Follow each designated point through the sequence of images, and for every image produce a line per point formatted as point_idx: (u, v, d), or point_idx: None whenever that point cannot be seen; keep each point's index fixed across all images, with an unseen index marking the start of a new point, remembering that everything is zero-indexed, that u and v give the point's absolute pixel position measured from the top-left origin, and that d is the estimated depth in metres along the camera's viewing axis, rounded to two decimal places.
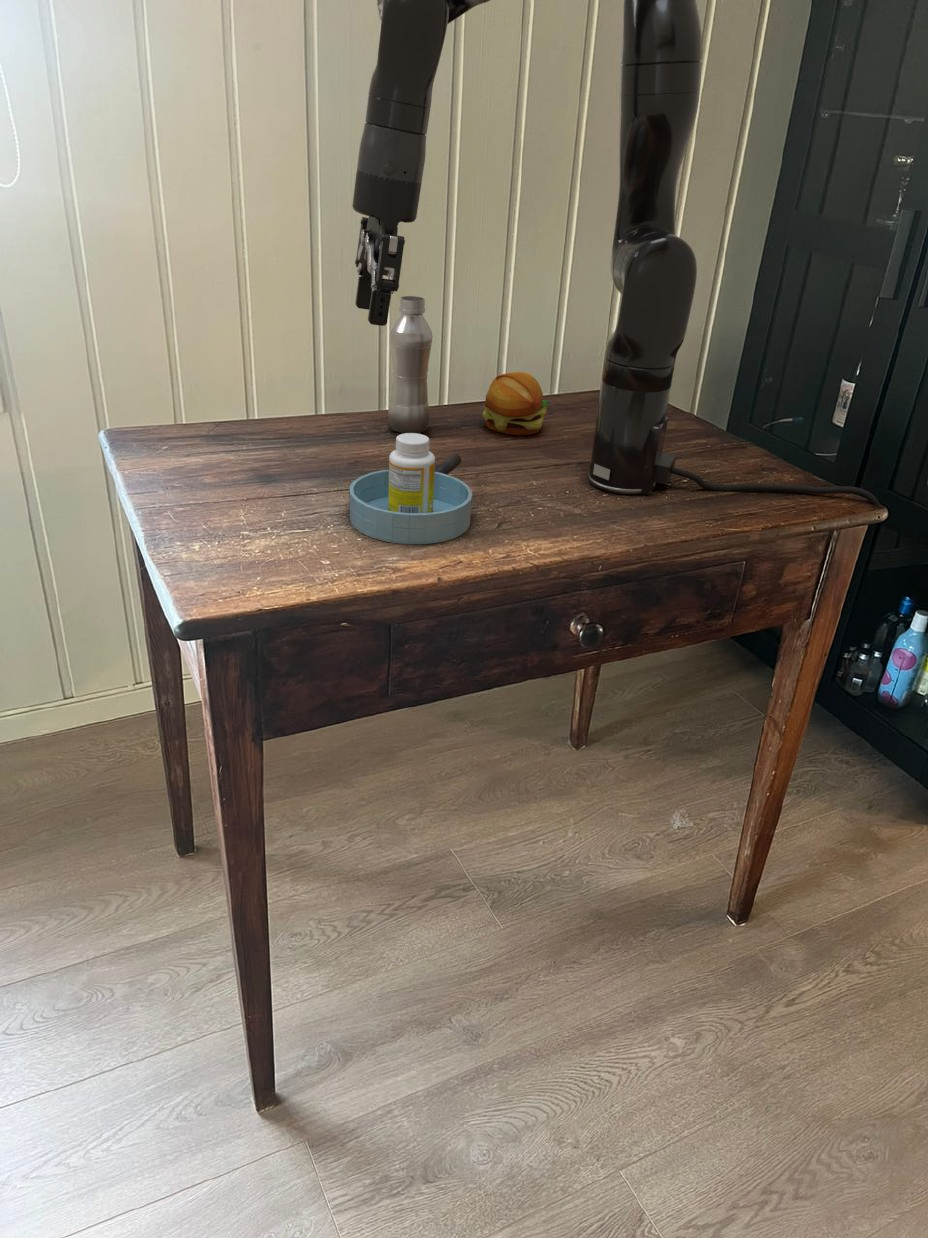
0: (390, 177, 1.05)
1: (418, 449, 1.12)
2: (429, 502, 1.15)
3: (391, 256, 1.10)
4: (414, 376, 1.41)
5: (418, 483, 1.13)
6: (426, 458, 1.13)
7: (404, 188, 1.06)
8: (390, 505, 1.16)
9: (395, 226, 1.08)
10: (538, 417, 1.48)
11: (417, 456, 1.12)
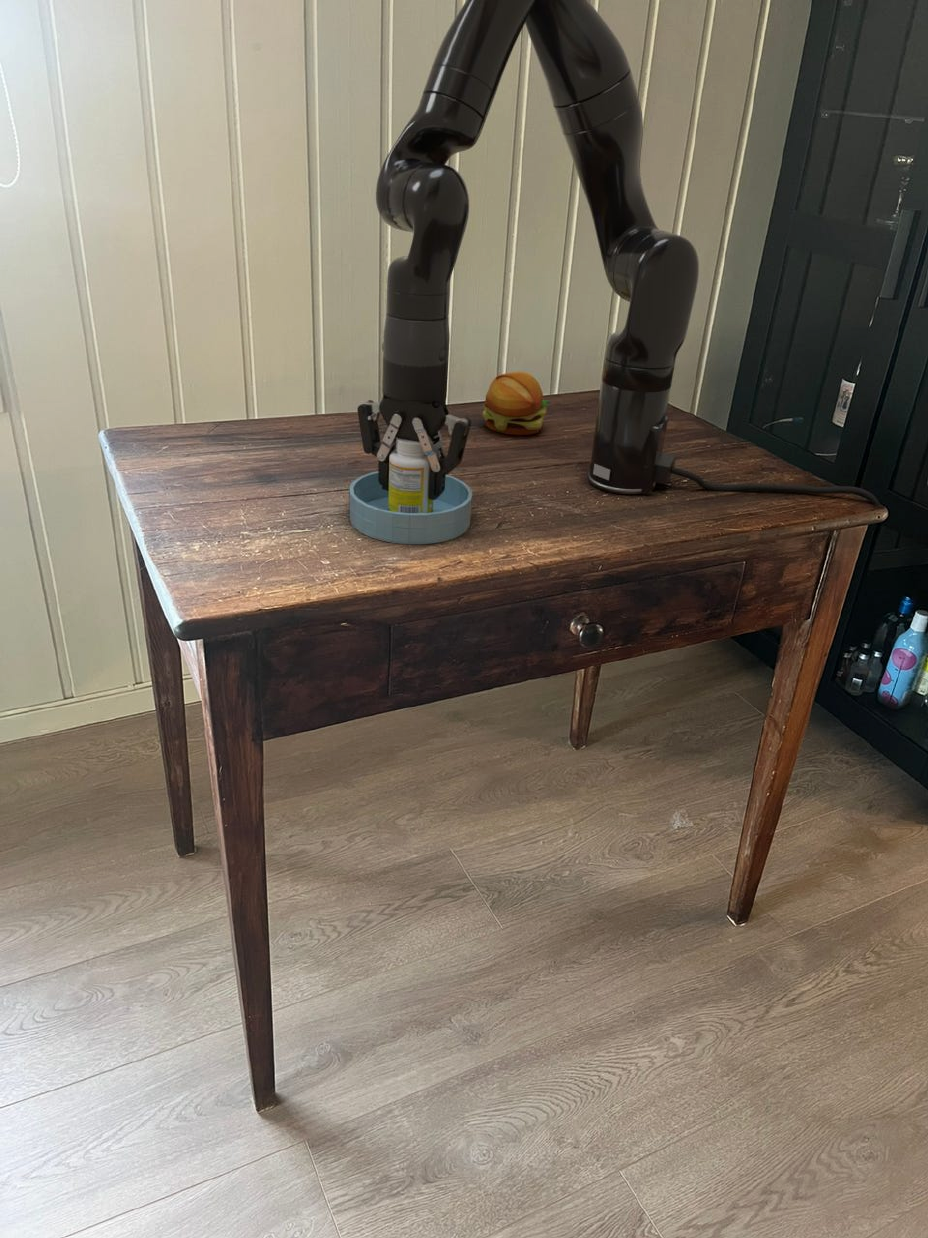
0: (443, 363, 1.07)
1: (418, 449, 1.12)
2: (429, 502, 1.15)
3: (439, 429, 1.12)
4: None
5: (418, 483, 1.13)
6: (426, 459, 1.13)
7: None
8: (390, 505, 1.16)
9: (445, 403, 1.10)
10: (538, 417, 1.48)
11: (417, 456, 1.12)
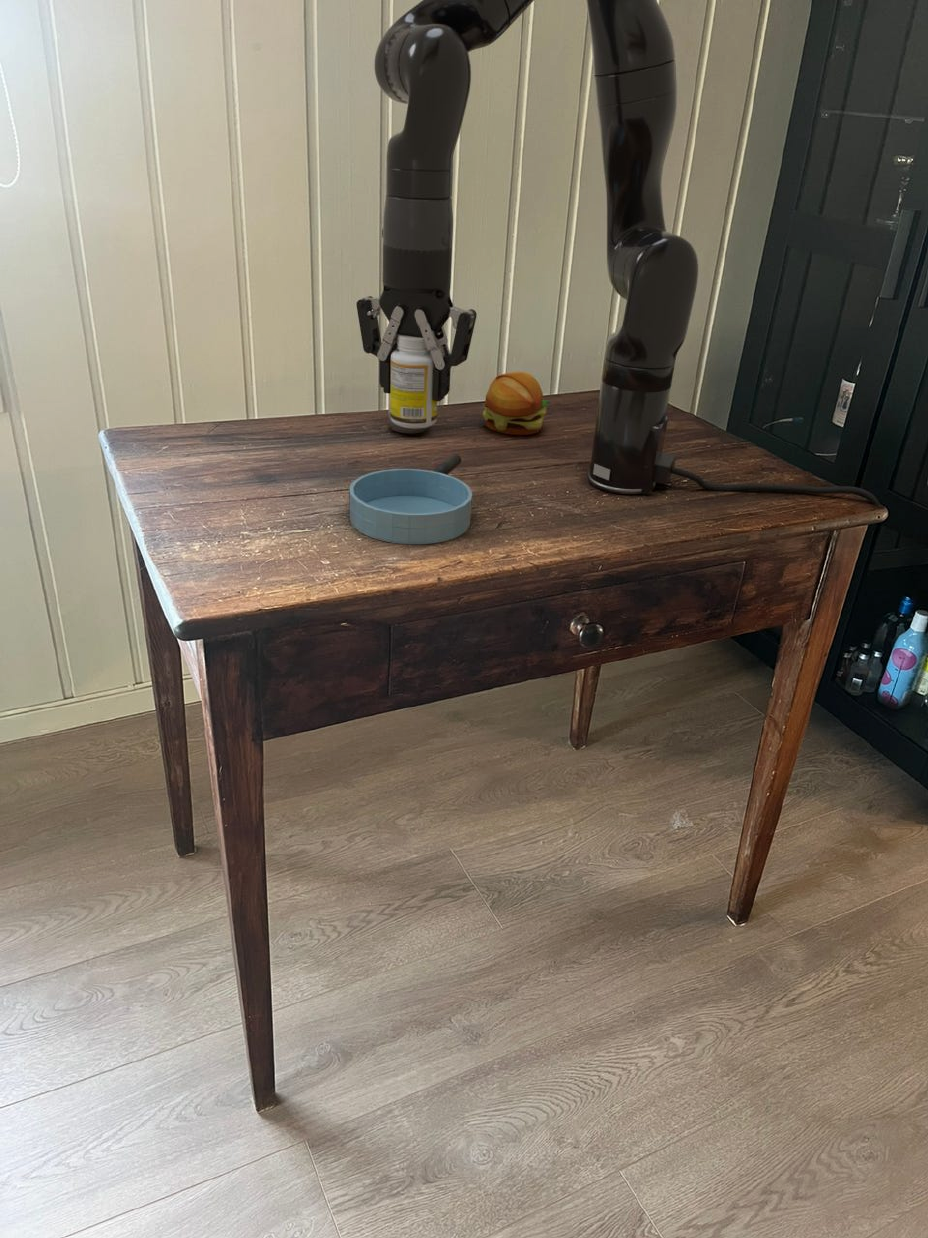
0: (447, 248, 1.01)
1: (421, 345, 1.06)
2: (434, 404, 1.10)
3: (442, 324, 1.06)
4: None
5: (421, 382, 1.07)
6: (430, 356, 1.07)
7: (451, 254, 1.03)
8: (392, 408, 1.10)
9: (449, 294, 1.04)
10: (538, 417, 1.48)
11: (420, 353, 1.06)
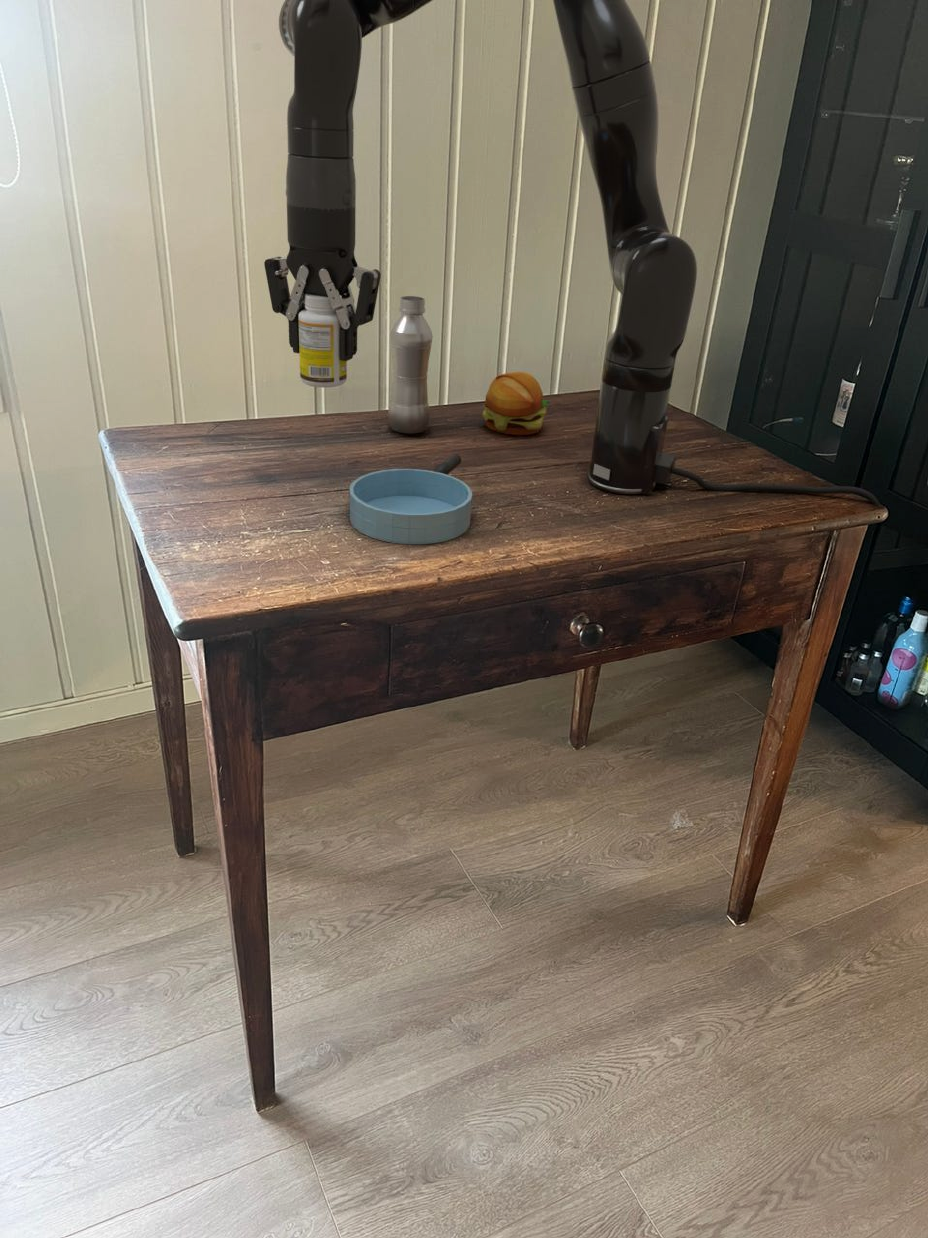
0: (348, 207, 1.03)
1: (327, 304, 1.08)
2: (341, 364, 1.11)
3: (348, 284, 1.08)
4: (414, 376, 1.41)
5: (328, 341, 1.09)
6: (336, 315, 1.09)
7: None
8: (301, 367, 1.12)
9: None
10: (538, 417, 1.48)
11: (326, 312, 1.08)
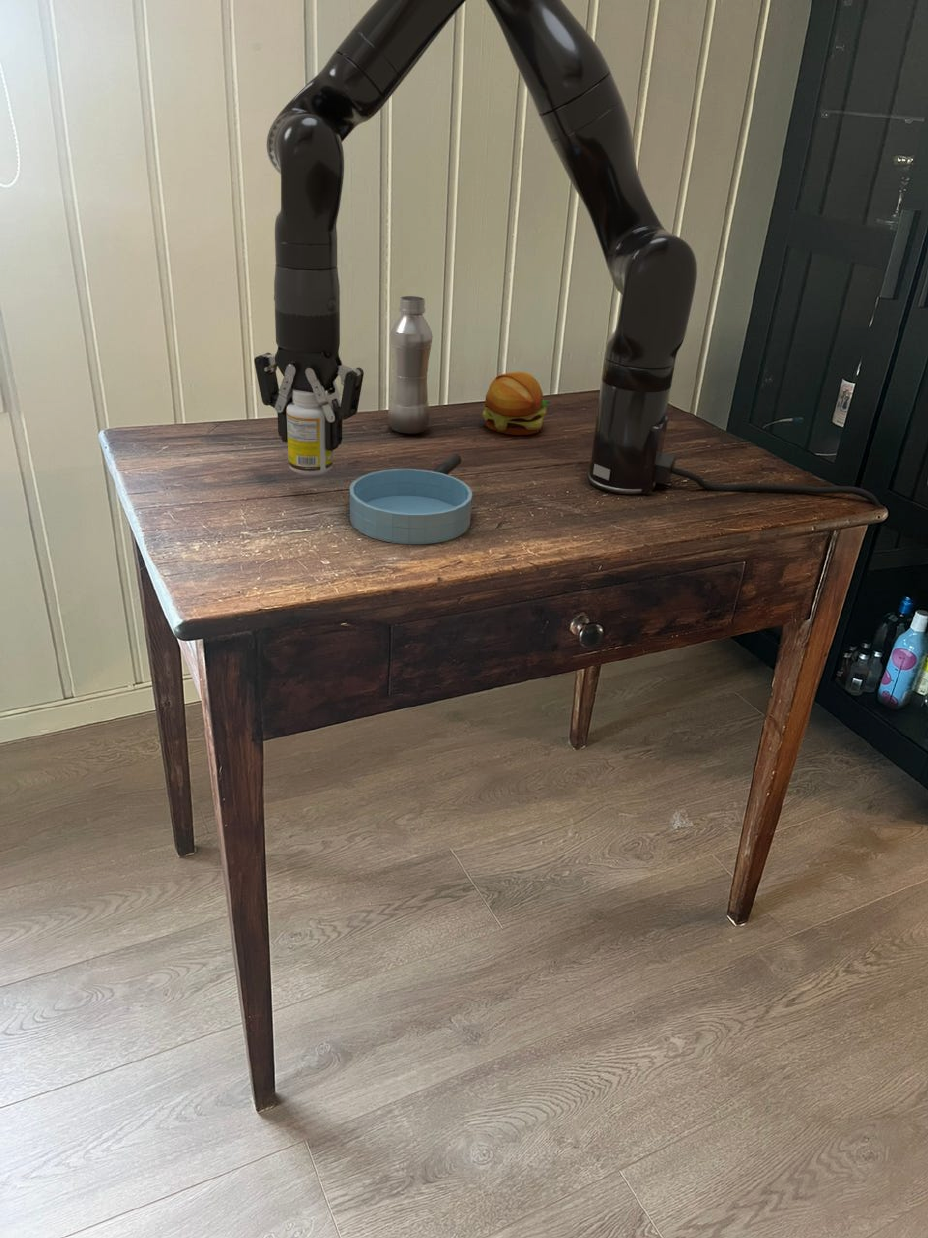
0: (332, 312, 1.09)
1: (313, 400, 1.14)
2: (327, 453, 1.18)
3: (333, 380, 1.14)
4: (414, 376, 1.41)
5: (314, 433, 1.15)
6: (322, 409, 1.15)
7: (339, 317, 1.11)
8: (289, 456, 1.18)
9: (338, 353, 1.12)
10: (538, 417, 1.48)
11: (312, 407, 1.15)
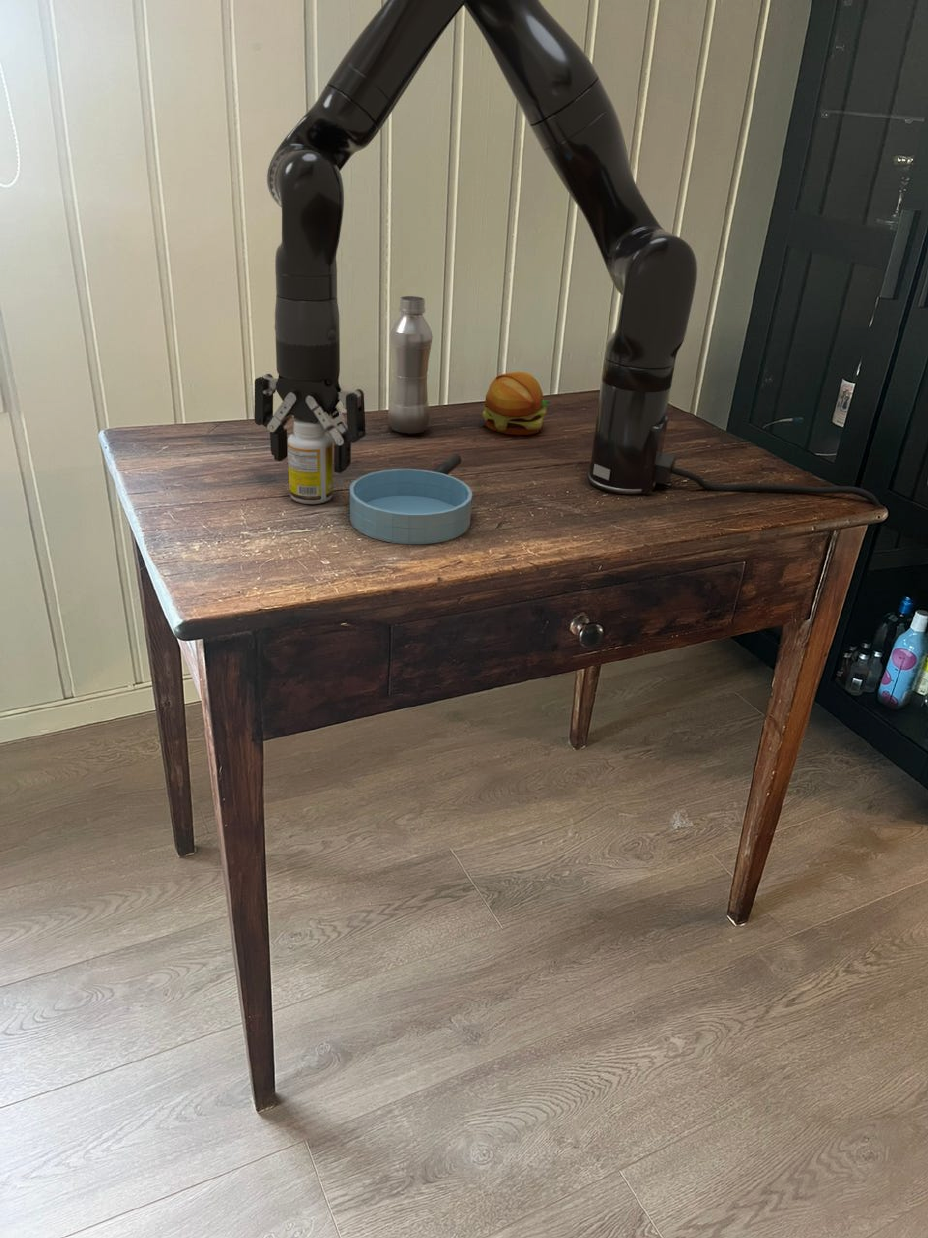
0: (332, 342, 1.10)
1: (313, 431, 1.16)
2: (328, 483, 1.20)
3: (334, 407, 1.16)
4: (414, 376, 1.41)
5: (315, 464, 1.17)
6: (322, 440, 1.17)
7: (339, 346, 1.12)
8: (290, 486, 1.20)
9: (338, 381, 1.14)
10: (538, 417, 1.48)
11: (313, 438, 1.16)
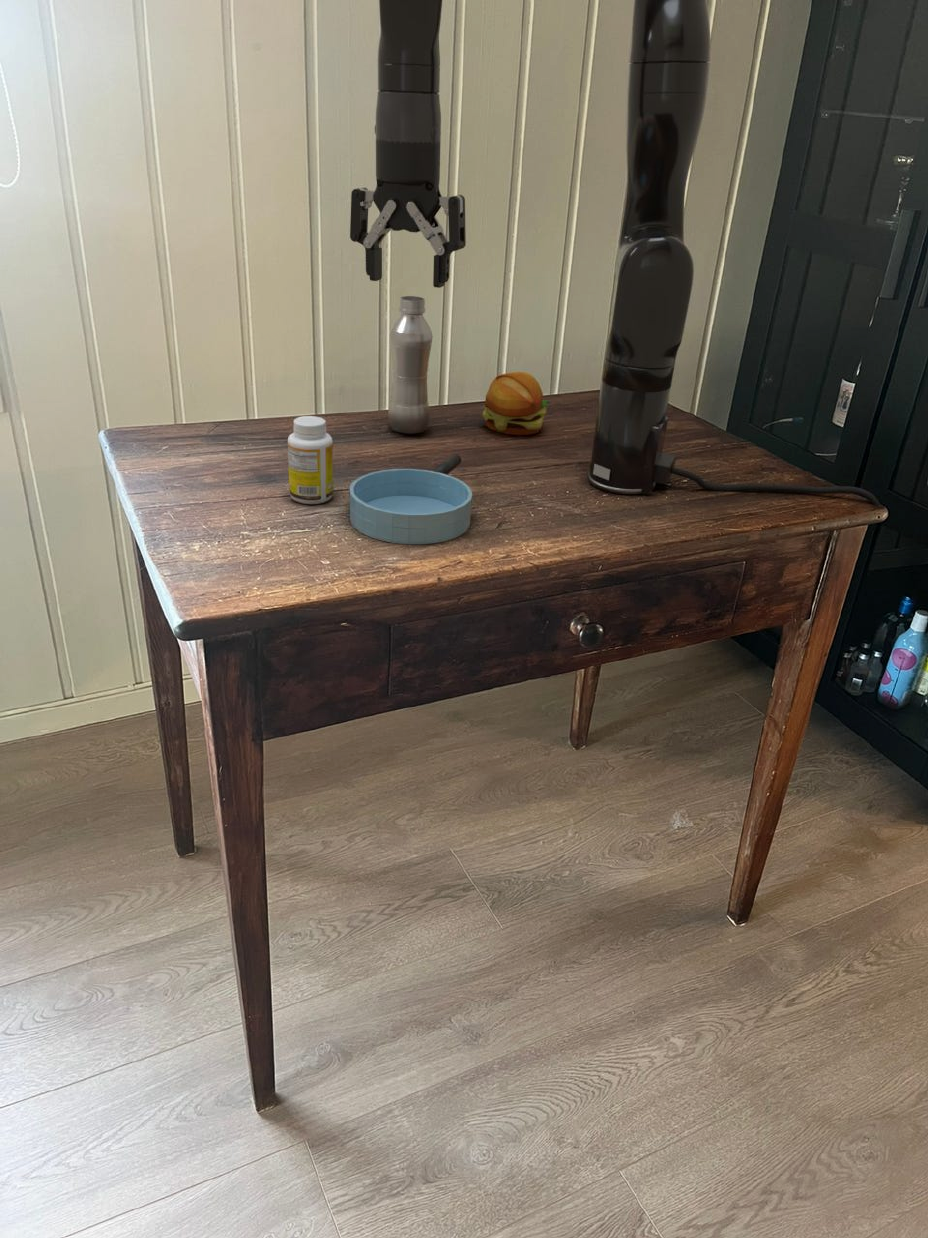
0: (435, 141, 1.08)
1: (314, 431, 1.16)
2: (328, 483, 1.20)
3: (433, 218, 1.14)
4: (414, 376, 1.41)
5: (315, 464, 1.17)
6: (322, 440, 1.17)
7: None
8: (290, 486, 1.20)
9: (438, 187, 1.12)
10: (538, 417, 1.48)
11: (313, 438, 1.16)
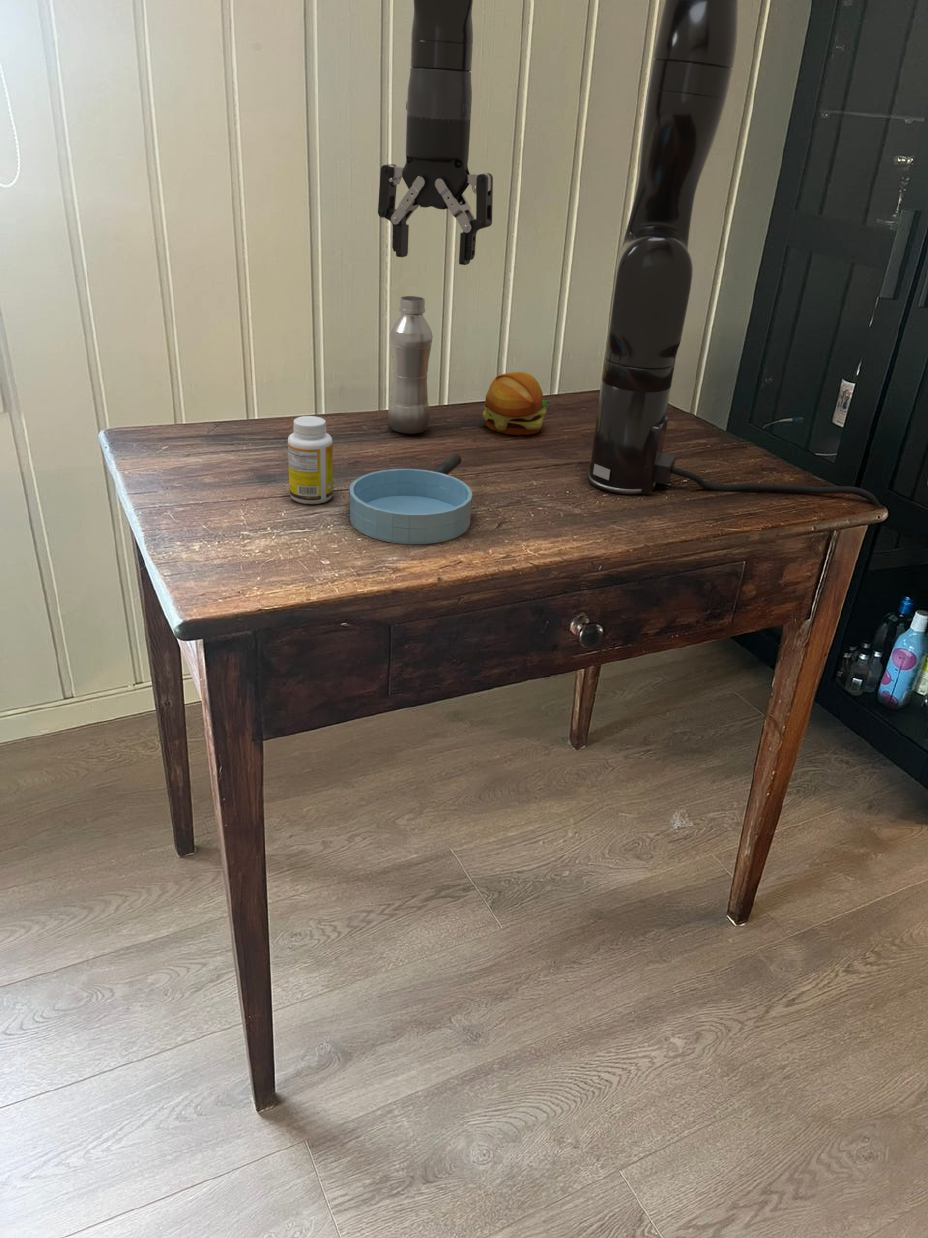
0: (466, 118, 1.10)
1: (314, 431, 1.16)
2: (328, 483, 1.20)
3: (460, 195, 1.15)
4: (414, 376, 1.41)
5: (315, 464, 1.17)
6: (322, 440, 1.17)
7: None
8: (290, 486, 1.20)
9: (467, 165, 1.13)
10: (538, 417, 1.48)
11: (313, 438, 1.16)
